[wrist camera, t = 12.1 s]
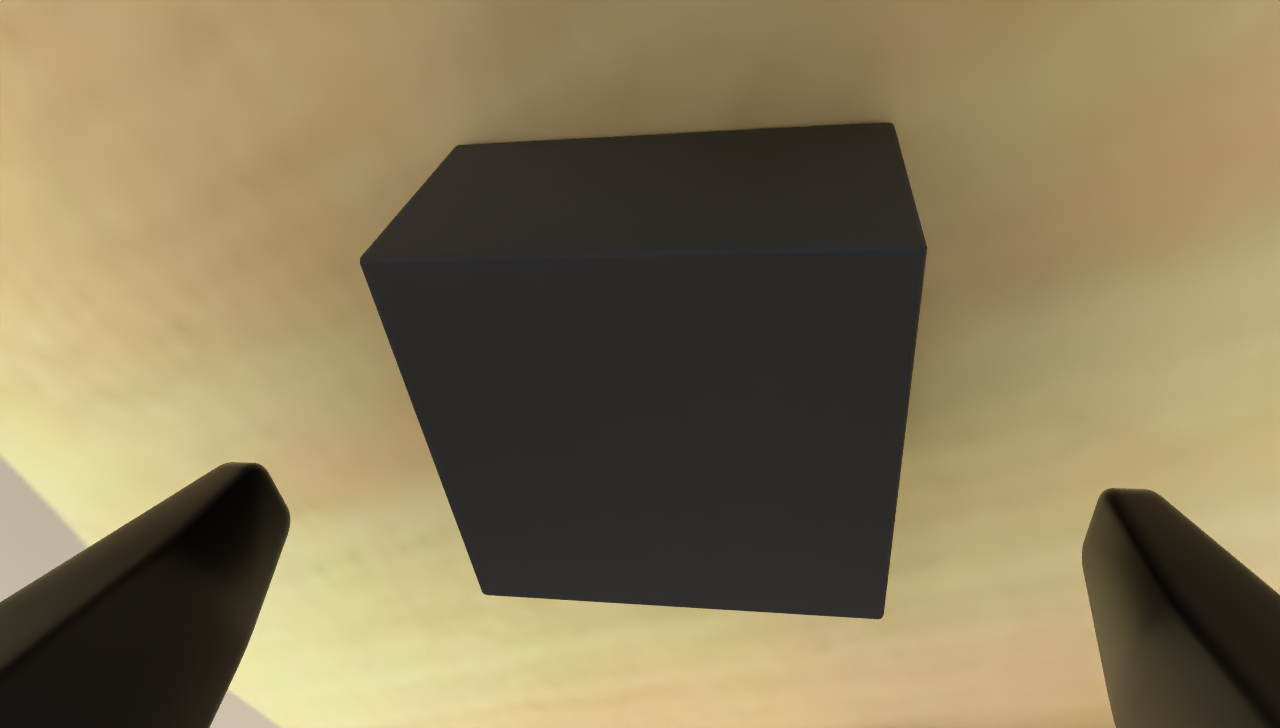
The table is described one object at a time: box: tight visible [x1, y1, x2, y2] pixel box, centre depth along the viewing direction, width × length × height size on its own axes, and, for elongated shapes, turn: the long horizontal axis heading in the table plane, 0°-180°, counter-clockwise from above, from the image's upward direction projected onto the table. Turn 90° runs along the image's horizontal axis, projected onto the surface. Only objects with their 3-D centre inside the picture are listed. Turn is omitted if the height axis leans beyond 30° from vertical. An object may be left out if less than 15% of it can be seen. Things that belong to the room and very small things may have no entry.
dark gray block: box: [360, 123, 927, 619], centre depth 10 cm, size 6×6×3 cm
